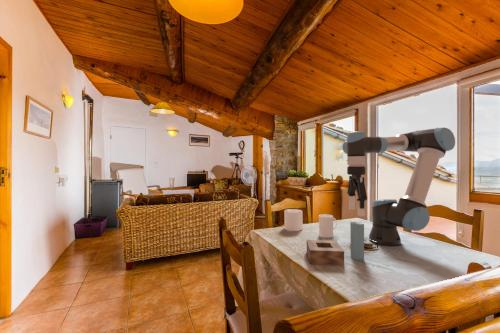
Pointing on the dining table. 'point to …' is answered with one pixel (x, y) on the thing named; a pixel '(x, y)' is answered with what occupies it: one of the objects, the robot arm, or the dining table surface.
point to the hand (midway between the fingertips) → (356, 212)
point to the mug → (326, 225)
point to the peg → (357, 240)
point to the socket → (325, 252)
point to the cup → (293, 220)
